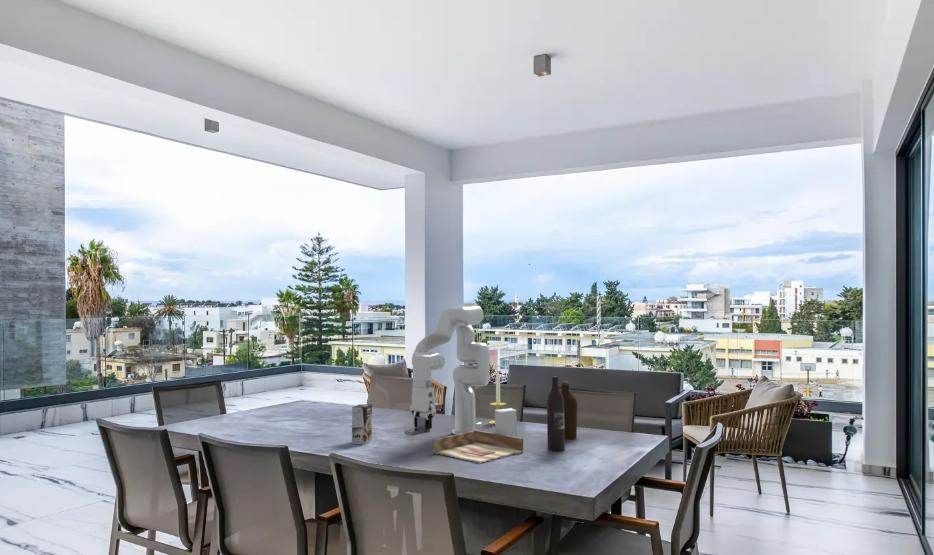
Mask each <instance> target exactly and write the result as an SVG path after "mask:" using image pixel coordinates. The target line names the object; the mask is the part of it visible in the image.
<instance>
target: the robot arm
mask: <svg viewBox="0 0 934 555" xmlns="http://www.w3.org/2000/svg"><path fill="white" fill-rule="evenodd" d="M483 319H484V310H483V308H482V307H481V306H480V305H453V306H449V307H445V308H443V310H442V311H441V313H440V314H439V317H438V320H437V323H436V325H435V327H434V328H433V331H432V332H431V333H429V334H427V335H426V336H424V338H422V339H421V340H420V341H419V342H418V343H417V345H416V346H415V349H414V351H413V353H412V356H411V365H412V382H413V383H412V392H411V404H410V406H409V410H410V411H411V414H412V418H413V421H414V422H413V423H414V424H413V425H414V426H413V428H416V416H421V413H424V415H425V416H424V417H426V420H425V429H430V430H431V429H432V427H433V423H432V422H433V421H432V420H433V419H434V416H435V415H436V413H437V410H436V401H435V394H434V388H433V387H432V385H433V383H432V371H439V370H441V369H442V368H443V367H444V366H445V363H446V361H445V360H446V359H445V356H444V355H443V354H442V353H440V352H433V351H430V350H432V349H434V348H437V347H440V346H441V345H445V344H447V343H449V342H450V341H451V339H452V337H453V334H454V332H455V331H456V359H457V360H458V362H461V363H467V365H466V364H465V365H457V366H456V367H455V368H454V369H453V371H452V380H453V385H454V386H453V387H454V410H455V411H454V413H455V414H454V428H453V429H451V433H452V435H456V434H461V433H465V432H470V431H475V430H479V429H478V428H479V427H482V425H483V424H482V422H477V421H476V394H475V391H474V390H473V388H472V387H486V386H487V385H488V384H489V382H490V372H491V371H490V368H491V367H490V364H491V363H490V362H491V353H490V348H489V346H488V345H487V344H486V343H485V342H476V341H475V340H476V339H475V333H476V332H475V329H474V328H473V327H472V326H474V325H478V324H480V323H482V321H483ZM429 351H430V352H429ZM468 363H472V364H473V363H474V364H477V365H468Z"/></svg>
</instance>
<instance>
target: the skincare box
mask: <svg viewBox="0 0 934 555" xmlns="http://www.w3.org/2000/svg"><path fill="white" fill-rule="evenodd" d="M517 419H518V416H517V410H516V409H514V408H512V407H510V408H502V409H499V410H496V409H494V421H495V425H494V428H495V429H494V430H495V431H494V433H496V434H502V435H508V436H513V437H518V422H517Z"/></svg>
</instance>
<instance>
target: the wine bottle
mask: <svg viewBox="0 0 934 555" xmlns="http://www.w3.org/2000/svg"><path fill="white" fill-rule="evenodd" d="M559 379H560V378H559V376H556V375H555V376H553V375H552V376H551V381H552V382H551V383H552V384H551V389H550V392H549V394H548V396H547V398H546V416H547V417H546V419H547V421H546V424H547V426H546V427H547V428H546V429H547V438H546V439H547V450H549V451H552V452H562V451H563V450H565V448H566V446H565V444H566V443H565V441H566V439H565V428H564V399H563V396H562V394H561V392H560V391H561V389H560V388H559V381H560V380H559ZM561 450H562V451H561Z"/></svg>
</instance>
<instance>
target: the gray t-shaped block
mask: <svg viewBox="0 0 934 555" xmlns="http://www.w3.org/2000/svg"><path fill="white" fill-rule="evenodd" d="M425 420H426V416H424V415H420V416H416V427H413V428H409V429H405V430H404V435H406V436H407V435H408V436H411V437H412V436H413V437H414V436H417V435H423V434H428V433H431V429H425Z"/></svg>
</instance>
